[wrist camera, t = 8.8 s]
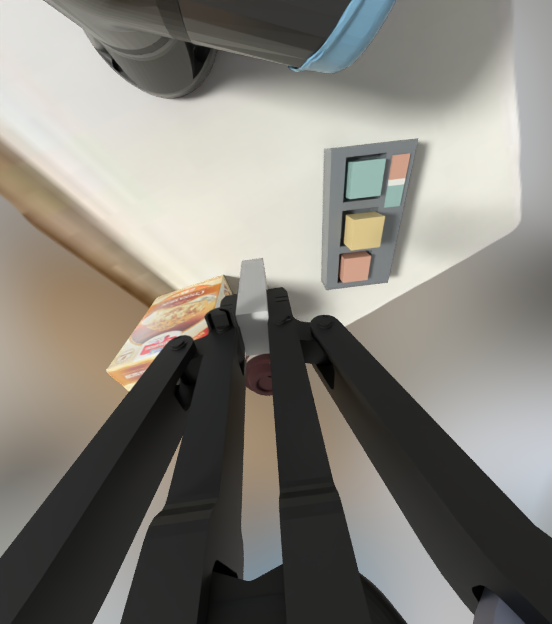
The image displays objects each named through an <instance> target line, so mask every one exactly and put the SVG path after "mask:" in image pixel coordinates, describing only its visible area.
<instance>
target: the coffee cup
mask: <svg viewBox="0 0 552 624" xmlns="http://www.w3.org/2000/svg"><path fill="white" fill-rule="evenodd" d="M246 387H247V388H249V389H250V390H252V391H254V392H256V393H257V394H260V395H266V396H267V395H269V396H270V395H273V391H272V377H271V364H270V353H265V354H257V355H250V356H246Z"/></svg>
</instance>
